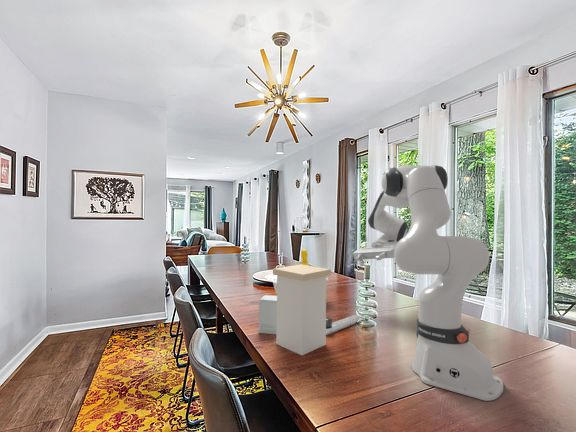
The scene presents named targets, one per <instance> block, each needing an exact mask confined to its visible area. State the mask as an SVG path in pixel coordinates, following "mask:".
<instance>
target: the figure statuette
mask: <svg viewBox="0 0 576 432" xmlns="http://www.w3.org/2000/svg"><path fill="white" fill-rule="evenodd" d="M300 256H301V263H300V264H302V265H308V266H310V265H309V262H308V251H307V249H302V250H301V253H300Z"/></svg>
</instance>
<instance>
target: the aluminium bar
mask: <svg viewBox="0 0 576 432" xmlns="http://www.w3.org/2000/svg"><path fill="white" fill-rule="evenodd" d="M359 316H360V315H356V314H352V315H350V316H347V317H344V318H341V319H339V320H336V321H333V319H332V318H331V317H329V316H328V317H327V316H326V336H329V335H331V334H333V333H336V332H338V331H340V330H342V329H345V328H348V327H351V326H353V325H356V324H357V323H356V322H357V321H358V320H359ZM355 323H356V324H355ZM350 325H351V326H350Z"/></svg>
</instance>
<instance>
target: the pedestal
mask: <svg viewBox="0 0 576 432" xmlns="http://www.w3.org/2000/svg"><path fill="white" fill-rule="evenodd" d="M308 265H309V264H308ZM308 265H302V264H301V263H300V264H295V265H287V266H282V267H276V268H273V269H272V274H273V275H277V284H276V285H277V290H276V291H277V292H276V296H277V332H276V334H275V335H276V336H275V337H276V341H275V343H276V345H278V346H280V347H282V348H284V349H286V350H288V351H291V352H293V353H295V354H298V355H300V356H304V355H306V354H308V353H311V352H313V351H315V350H317V349H319V348H322V347H325V346H326V345H327V342H326V341H327V339H326V336H327V335H326V317H327V280H326V277H329V276H331V270H332V269H331V268H325V267H320V266H319V267H318V266H314V265H313V266H312V265H309V266H308Z"/></svg>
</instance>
